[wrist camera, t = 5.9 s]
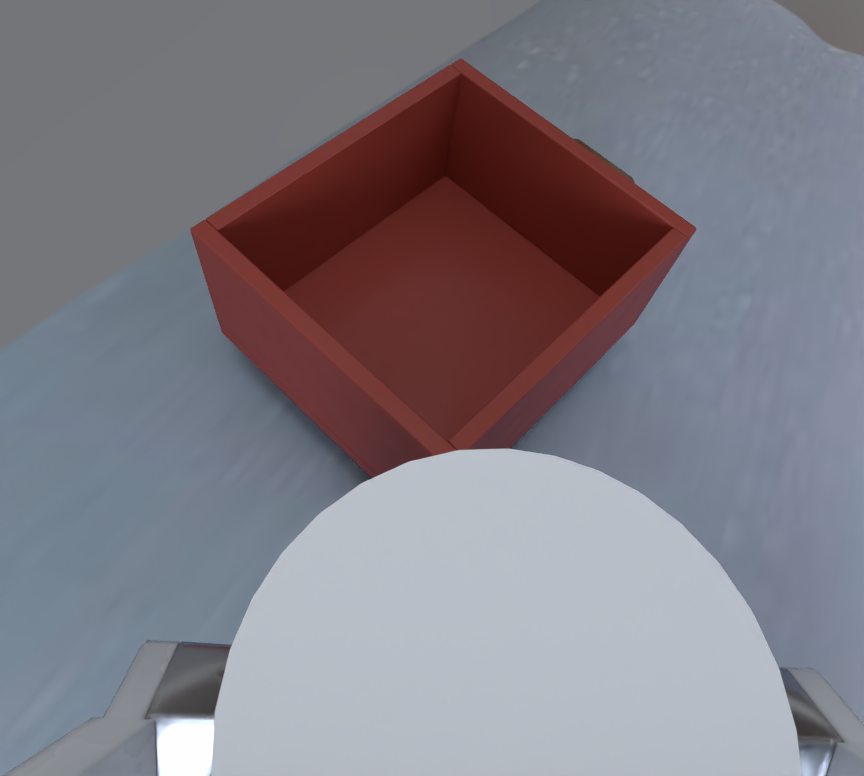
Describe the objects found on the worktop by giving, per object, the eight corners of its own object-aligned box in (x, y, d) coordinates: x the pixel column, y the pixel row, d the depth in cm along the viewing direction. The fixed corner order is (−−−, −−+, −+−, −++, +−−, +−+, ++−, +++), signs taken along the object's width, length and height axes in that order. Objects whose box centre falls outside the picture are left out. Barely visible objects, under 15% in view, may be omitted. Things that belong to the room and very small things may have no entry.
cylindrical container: (359, 631, 33) (373, 374, 10) (501, 698, 32) (838, 572, 10) (284, 795, 29) (75, 922, 7) (441, 873, 29) (743, 1282, 6)
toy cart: (491, 167, 47) (527, 15, 37) (666, 301, 43) (757, 170, 34) (230, 361, 38) (188, 228, 29) (421, 549, 35) (448, 469, 25)
